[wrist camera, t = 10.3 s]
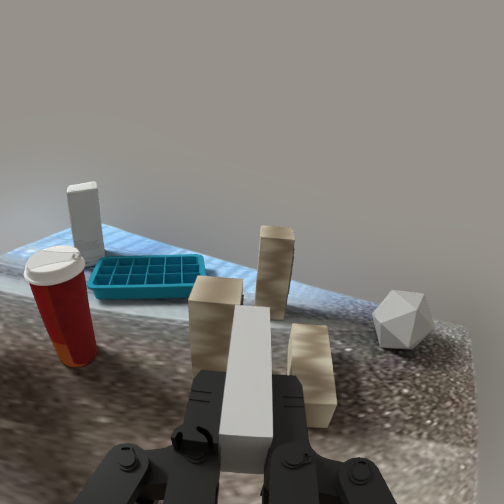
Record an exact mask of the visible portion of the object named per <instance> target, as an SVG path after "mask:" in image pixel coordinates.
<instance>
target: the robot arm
mask: <svg viewBox="0 0 504 504" xmlns="http://www.w3.org/2000/svg"><path fill="white" fill-rule="evenodd" d="M171 440H172V445H171V446H168V447H166V448H161V449H153V450H143V449H142V448H140V447H139V446H137V445H134V444H130V443H126V444H119V445H117V446H114V447H113V448H112V449H111V450H110V451H109V452H108V454H107V455H106V457H105V458H104V459H103V461H102V462H101V464H100V465H99V467H98V468H97V470H96V471H95V472H94V474H93V475H92V477H91V478H90V480H89V481H88V483H87V484H86V485H85V487H84V488H83V490H82V491H81V493H80V494H79V496H78V497H77V498H76V500H75V501H74V503H73V504H158V502H159V500H164V502H163V504H217V503H218V493H219V477H220V471H222V472H234V473H249V474H263V473H264V484H263V487H262V490H261V494H260V496H262V504H397V503H396V501H395V500H394V498H393V496H392V494H391V492H390V490H389V488H388V486H387V484H386V482H385V480H384V479H383V477H382V475H381V473H380V471H379V469H378V467H377V466H376V465H375V464H374V463H373V462H372V461H370V460H368V459H366V458H360V457H358V458H351V459H349V460H347V461H346V462H339V461H335V460H330V459H327V458H324V457H321V456H320V455H318V454H317V453H316V452H315V451H314V450H313V449H312V448H311V446H310V443H309V440H308V430H307V421H306V412H305V403H304V394H303V386H302V384H301V383H300V381H299V380H298V378H297V376H296V375H273V374H272V369H271V333H270V307H257V306H244V305H235V310H234V318H233V326H232V333H231V341H230V349H229V357H228V365H227V372H221V371H211V370H200V372H199V373H198V374H197V375H196V376H195V378H194V379H193V383H192V388H191V392H190V396H189V401H188V405H187V410H186V414H185V419H184V424H183V425H180V426H179V427H178V428H177V429H175V430H174V432H173V434H172V436H171Z"/></svg>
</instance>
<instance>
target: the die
mask: <svg viewBox="0 0 504 504" xmlns="http://www.w3.org/2000/svg"><path fill="white" fill-rule="evenodd" d="M372 317H373V320H374V324H375V328H376V332H377V336H378V340H379V345H380V347H381V348H394V349H409V350H412V349H413V348H414V347H415V346H417V345H418V344H419V343H420V342H421V341H422V340H423V339H424V338H425V337H426V336H427V335H428V334H429V333H430V332H431V331H432V330H433V329H434V328H435V327H434V323H433V320H432V316H431V313H430V310H429V307H428V303H427V300H426V297H425V294H423V293H413V292H406V291H396V290H392V291H391V292H390V293H389V294H388V296H387V297H386V298H385V299H384V300H383V301H382V303H381V304H380V305H379V306H378V307H377V308H376V310H375V311H374V312H373V313H372Z"/></svg>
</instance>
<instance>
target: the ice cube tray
mask: <svg viewBox="0 0 504 504" xmlns="http://www.w3.org/2000/svg"><path fill="white" fill-rule="evenodd" d="M198 275H199V276H206V271H205V265H204V258H203V256H201V255H197V254H187V255H148V256H108V257H102V258H100V259H99V260H98V262H97V264H96V266H95V268H94V270H93V272H92V274H91V276H90V278H89V280H88V283H87V287H88V288H89V289H92V290H93V291H94V295H95V297H96V298H97V299H154V298H189V297H190V294H191V291H192V289H193V286H194V284H195V281H196V279H197V276H198Z"/></svg>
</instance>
